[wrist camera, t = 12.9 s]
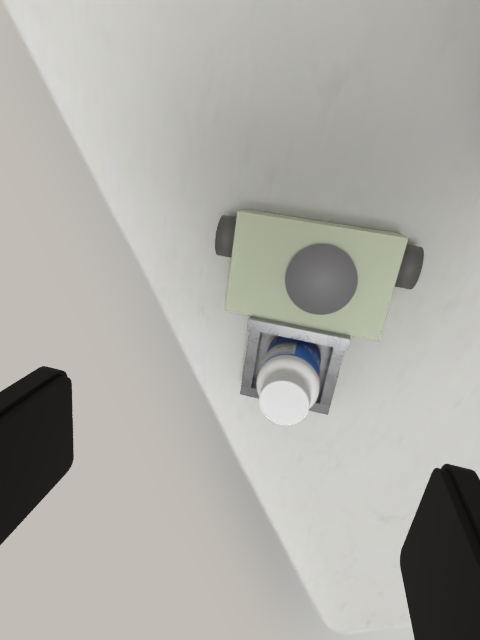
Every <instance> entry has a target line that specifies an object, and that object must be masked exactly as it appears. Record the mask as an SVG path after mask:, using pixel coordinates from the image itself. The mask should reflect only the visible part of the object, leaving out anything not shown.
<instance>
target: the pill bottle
mask: <svg viewBox="0 0 480 640" xmlns="http://www.w3.org/2000/svg"><path fill="white" fill-rule="evenodd" d="M320 367H321V355H320V351H319V348H318V346H317V345H316V344H315V343H311V342H306V341H301V340H296V339H291V338H286V337H282V336H278V337H277V338H276V339H274V341H273V342H272V343H271V345H270V346H269V348H268V351H267V353H266V356H265V358H264V361H263V363H262V366H261V368H260V371H259V374H258V377H257V383H256V386H257V392H258V395H259V406H260V409H261V411H262V413H263V414H264V415H265V417H266V418H267V419H269V420H270V421H272V422H274V423H276V424H279V425H293V424H296V423H298V422H300V421H302V420H303V419H304V418H305V416H306V415H307V413H308V411H309V409H310V408H311V407H312V406H313V405H314V403H315V402H316V400H317V398H318V395H319V389H320Z"/></svg>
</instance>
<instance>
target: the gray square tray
mask: <svg viewBox="0 0 480 640" xmlns="http://www.w3.org/2000/svg"><path fill="white" fill-rule="evenodd" d="M247 329H248V330H250V333H249V340H248V346H247V353H246V359H245V366H244V372H243V379H242V385H241V391H240V394H242V395H246V396H250V397H255V398H259V395H258V392H257V386H256V383H257V377H258V374H259V371H260V368H261V366H262V363H263V361H264V358H265V356H266V353H267V351H268V348H269V346H270V345H271V343H272V342H273V341H274V339H276V338H277V337H278V336H282V337H286V338H291V339H296V340H301V341H306V342H311V343H315V344H316V345H317V346H318V348H319V351H320V355H321V367H320V389H319V395H318V398H317V400H316V402H315V403H314V405H313V406H312V407H311V408H310V409H309V410H310V411H314V412H319V413H323V414H327V415H328V412H329V408H330V404H331V400H332V397H333V393H334V389H335V385H336V381H337V377H338V373H339V369H340V365H341V361H342V357H343V354H344V350H348V347H349V343H350V336H349V335H344V334H339V333H334V332H329V331H324V330H319V329H314V328H310V327H305V326H300V325H295V324H290V323H285V322H280V321H275V320H270V319H265V318H260V317H255V316H250V318H249V321H248V327H247Z"/></svg>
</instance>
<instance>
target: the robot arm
mask: <svg viewBox="0 0 480 640" xmlns="http://www.w3.org/2000/svg"><path fill="white" fill-rule="evenodd" d="M72 420H73V419H72V384H71V380H70V378H68V377H67V374H66V372H64V371H62V370H58V369H54V368H49V367H45V366H44V367H43V366H42V367H40V368H38V369H37V370H35V371H33V372H32V373H30V374H28V375H27V376H25V377H24V378H22V379H20V380H19V381H17V382H16V383H14V384H12V385H11V386H9V387H8V388H6V389H4V390H3V391H1V392H0V545H1V544H2V543H3V542H4V540H5V539H6V538H7V537H8V536H9V535H10V534H11V533H12V532H13V531H14V530H15V529H16V527H17V526H18V525H19V524H20V523H21V522H22V521H23V520H24V519H25V518H26V517H27V515H28V514H29V513H30V512H31V511H32V510H33V509H34V508H35V507H36V506H37V504H38V503H39V502H40V501H41V500H42V499H43V498H44V497H45V496H46V495H47V494H48V492H49V491H50V490H51V489H52V488H53V487H54V486H55V485H56V484H57V483H58V482H59V481H60V479H61V478H62V477H63V476H64V475H65V474H66V473H67V471H68V470H69V468H70V467H71V465H72V462H73V421H72ZM400 566H401V572H402V577H403V582H404V587H405V592H406V598H407V603H408V608H409V613H410V618H411V623H412V628H413V633H414V638H415V640H480V480H479V478H478V476H477V474H476V473H475V471H473V470H470V469H466V468H462V467H458V466H454V465H450V464H445V465H444V466H442V468H441V469H439V468H435V469H434V470H433V472H432V474H431V477H430V479H429V482H428V484H427V487H426V489H425V492H424V494H423V497H422V499H421V502H420V504H419V507H418V509H417V512H416V515H415V517H414V520H413V522H412V525H411V527H410V530H409V532H408V535H407V537H406V540H405V542H404V545H403V547H402V550H401V555H400Z"/></svg>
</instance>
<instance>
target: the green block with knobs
mask: <svg viewBox="0 0 480 640" xmlns="http://www.w3.org/2000/svg"><path fill="white" fill-rule="evenodd" d="M407 242H408V238H407V237H406V236H404V235H402V234H400V233H394V232H388V231H381V230H375V229H369V228H362V227H356V226H350V225H343V224H337V223H330V222H324V221H318V220H311V219H305V218H299V217H292V216H286V215H279V214H273V213H267V212H260V211H254V210H247V209H244V210H240V211H237V217H231V216H224V215H223V216H222V217H221V219H220V221H219V224H218V227H217V232H216V240H215V250H216V254H217V255H221V256H226V257H231V265H230V273H229V281H228V289H227V296H226V304H225V311H230V312H235V313H240V314H245V315H250V316H255V317H260V318H265V319H270V320H275V321H280V322H285V323H290V324H295V325H300V326H305V327H310V328H314V329H319V330H324V331H329V332H334V333H339V334H344V335H349V336H354V337H359V338H364V339H369V340H374V341H379V339H380V335H381V332H382V328H383V325H384V321H385V318H386V314H387V311H388V307H389V304H390V300H391V297H392V294H393V290H394V287H400V288H406V289H412V288H413V287H414V286H415V284H416V283H417V280H418V278H419V275H420V272H421V269H422V264H423V257H424V251H423V248H422V247H417V246H411V245H407Z"/></svg>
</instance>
